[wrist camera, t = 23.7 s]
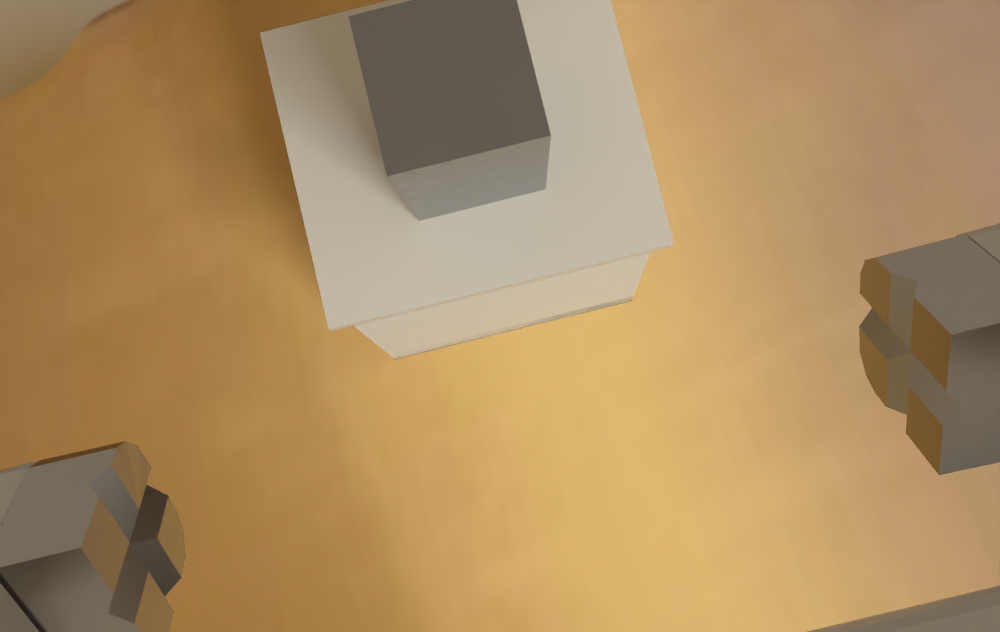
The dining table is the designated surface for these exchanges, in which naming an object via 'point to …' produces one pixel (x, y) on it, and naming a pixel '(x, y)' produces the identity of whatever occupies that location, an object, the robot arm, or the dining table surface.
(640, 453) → the dining table surface
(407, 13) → the block
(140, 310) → the dining table surface
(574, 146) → the lid flap
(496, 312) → the carton
